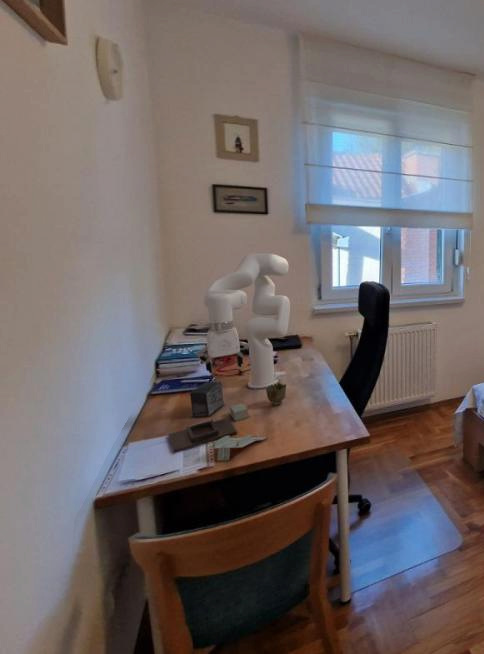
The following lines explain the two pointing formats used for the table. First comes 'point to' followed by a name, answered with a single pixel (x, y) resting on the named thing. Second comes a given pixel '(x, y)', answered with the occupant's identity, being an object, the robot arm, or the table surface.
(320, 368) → the table surface
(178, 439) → the mounting board
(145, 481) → the table surface
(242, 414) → the gray rectangular block
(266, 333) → the robot arm
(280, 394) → the cup
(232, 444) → the metal bracket
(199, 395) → the small box
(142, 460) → the table surface
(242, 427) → the table surface
